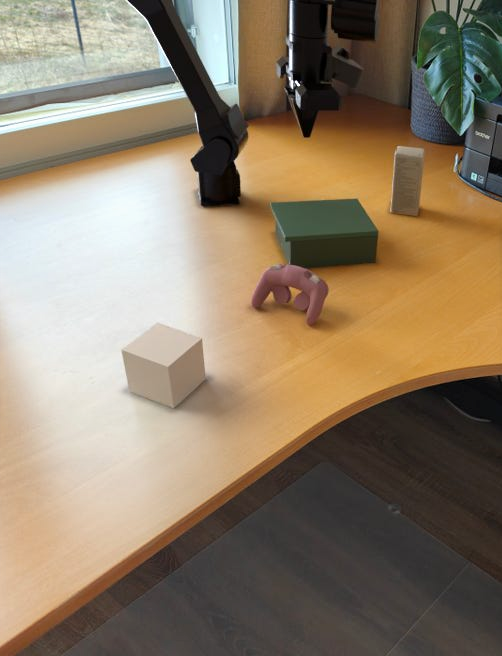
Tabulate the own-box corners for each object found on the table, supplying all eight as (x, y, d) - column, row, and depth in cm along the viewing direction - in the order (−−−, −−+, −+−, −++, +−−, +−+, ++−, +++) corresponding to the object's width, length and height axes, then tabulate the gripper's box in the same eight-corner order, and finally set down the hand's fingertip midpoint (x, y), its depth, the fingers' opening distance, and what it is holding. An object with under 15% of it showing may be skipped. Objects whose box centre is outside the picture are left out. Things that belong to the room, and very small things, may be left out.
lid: (285, 242, 97) (285, 237, 96) (270, 207, 105) (269, 202, 104) (378, 235, 102) (378, 231, 101) (357, 202, 110) (357, 198, 109)
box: (419, 207, 123) (427, 148, 116) (417, 217, 119) (424, 157, 113) (391, 202, 123) (397, 144, 116) (388, 212, 119) (394, 152, 113)
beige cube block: (205, 378, 78) (202, 338, 75) (173, 408, 74) (168, 367, 70) (163, 362, 80) (157, 322, 76) (128, 391, 75) (121, 349, 71)
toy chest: (290, 269, 100) (290, 241, 97) (275, 233, 108) (275, 206, 105) (375, 263, 105) (378, 235, 102) (355, 229, 113) (356, 203, 110)
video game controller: (324, 324, 92) (336, 276, 91) (311, 327, 88) (323, 276, 87) (261, 305, 94) (272, 257, 93) (246, 307, 90) (256, 256, 88)
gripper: (378, 52, 95) (370, 157, 105) (343, 21, 108) (338, 117, 118) (302, 49, 91) (300, 159, 101) (275, 18, 104) (276, 117, 114)
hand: (306, 136), depth 108 cm, fingers closed
